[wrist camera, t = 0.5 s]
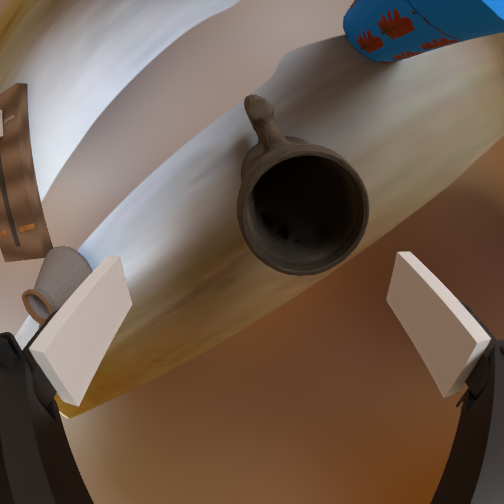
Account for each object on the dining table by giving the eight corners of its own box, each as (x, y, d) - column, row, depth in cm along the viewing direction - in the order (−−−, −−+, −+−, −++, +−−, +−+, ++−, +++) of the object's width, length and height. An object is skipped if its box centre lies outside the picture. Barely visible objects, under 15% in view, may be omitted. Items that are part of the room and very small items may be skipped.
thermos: (414, 64, 29) (540, 42, 6) (354, 65, 30) (472, 11, 7) (394, 5, 24) (493, -53, 2) (332, 3, 26) (408, -91, 3)
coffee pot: (58, 228, 40) (4, 267, 26) (108, 261, 42) (62, 313, 29) (45, 308, 47) (9, 350, 34) (85, 335, 50) (55, 385, 36)
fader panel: (-13, 111, 29) (-24, 112, 26) (27, 83, 28) (15, 83, 25) (13, 255, 42) (4, 262, 39) (54, 250, 42) (44, 258, 39)
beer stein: (335, 191, 38) (398, 234, 19) (272, 230, 40) (280, 304, 22) (276, 98, 33) (290, 50, 15) (210, 141, 36) (159, 136, 17)
